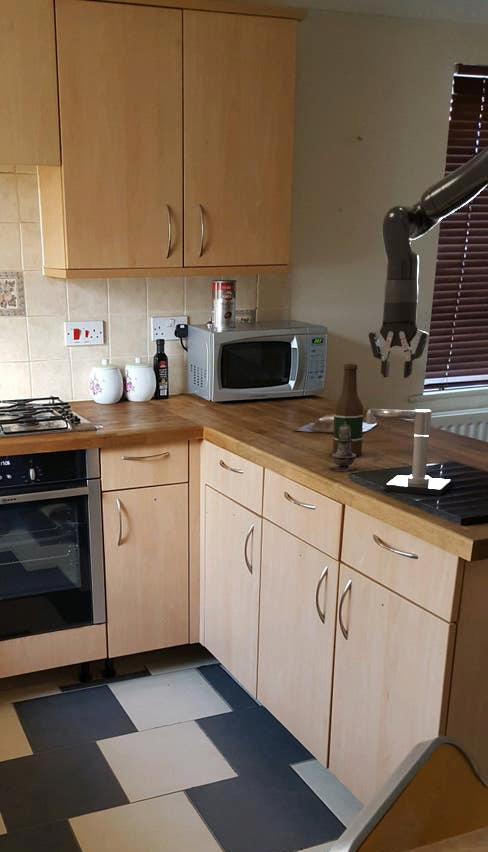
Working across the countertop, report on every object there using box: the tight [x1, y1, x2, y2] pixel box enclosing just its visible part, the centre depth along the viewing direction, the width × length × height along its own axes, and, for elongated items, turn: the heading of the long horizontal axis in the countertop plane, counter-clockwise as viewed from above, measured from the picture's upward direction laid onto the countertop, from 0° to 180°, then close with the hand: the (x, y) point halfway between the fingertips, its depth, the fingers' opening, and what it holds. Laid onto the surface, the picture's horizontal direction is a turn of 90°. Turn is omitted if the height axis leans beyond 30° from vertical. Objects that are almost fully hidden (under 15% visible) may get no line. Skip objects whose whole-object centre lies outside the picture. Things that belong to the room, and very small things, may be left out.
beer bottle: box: [332, 363, 364, 458], centre depth 233 cm, size 8×8×24 cm
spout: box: [365, 408, 433, 436], centre depth 195 cm, size 14×4×5 cm, turn 61°
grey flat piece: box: [296, 413, 378, 434], centre depth 278 cm, size 21×20×4 cm
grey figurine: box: [331, 421, 357, 472], centre depth 217 cm, size 6×6×12 cm
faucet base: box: [385, 434, 451, 497], centre depth 196 cm, size 12×10×12 cm
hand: (396, 376), depth 204 cm, fingers open, 4 cm apart
